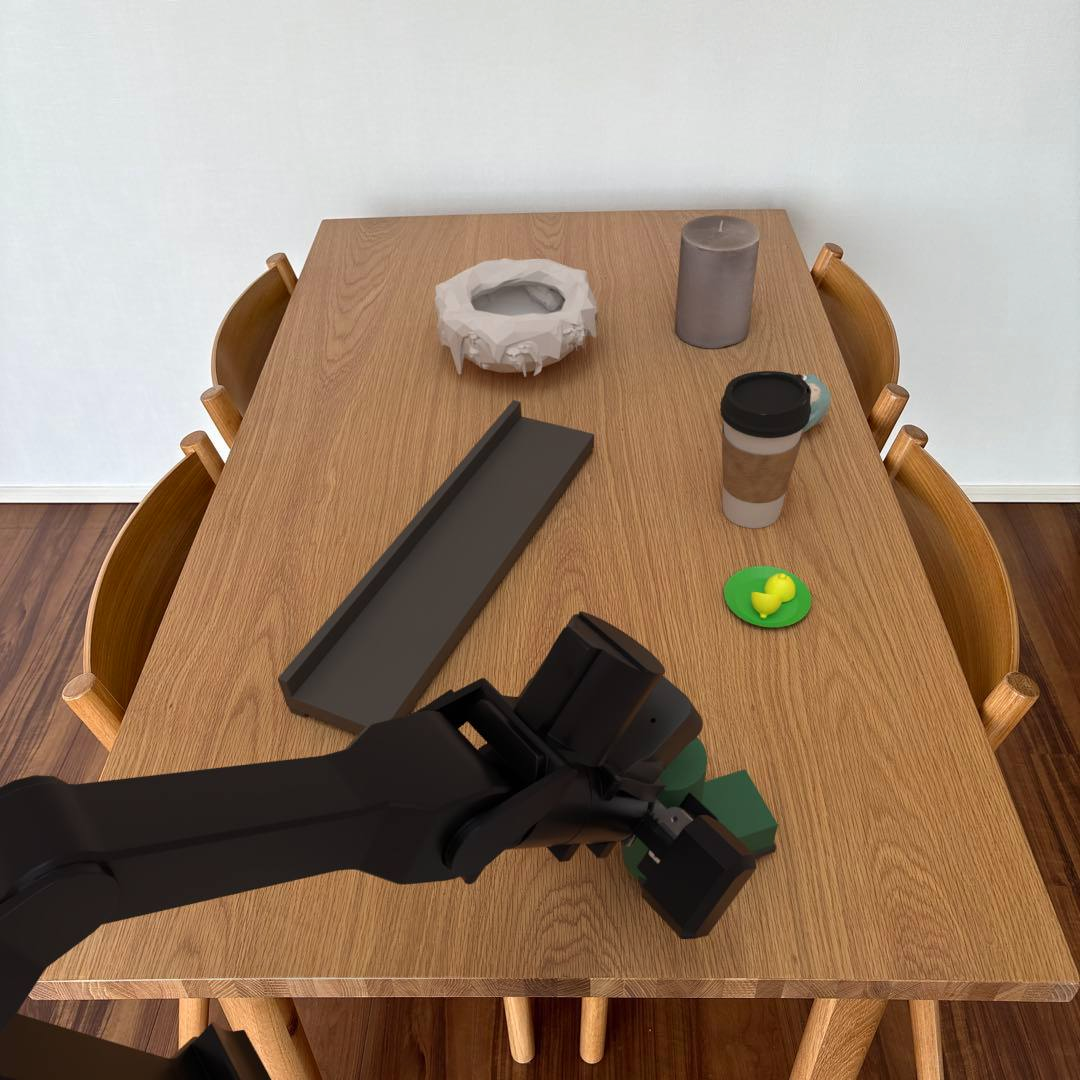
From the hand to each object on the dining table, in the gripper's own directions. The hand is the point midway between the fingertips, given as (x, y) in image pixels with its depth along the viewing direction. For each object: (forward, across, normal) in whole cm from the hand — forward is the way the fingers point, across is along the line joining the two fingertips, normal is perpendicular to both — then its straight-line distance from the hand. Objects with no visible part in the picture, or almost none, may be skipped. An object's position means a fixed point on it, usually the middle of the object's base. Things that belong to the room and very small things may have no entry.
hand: (677, 794), depth 67 cm
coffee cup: (+29, +22, -18) cm, 41 cm away
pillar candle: (+45, +50, -35) cm, 76 cm away
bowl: (+29, +63, -19) cm, 72 cm away
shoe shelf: (+9, +36, +1) cm, 37 cm away
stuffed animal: (+38, +31, -28) cm, 57 cm away
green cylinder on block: (+6, -1, +4) cm, 7 cm away
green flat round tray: (+23, +13, -12) cm, 29 cm away
